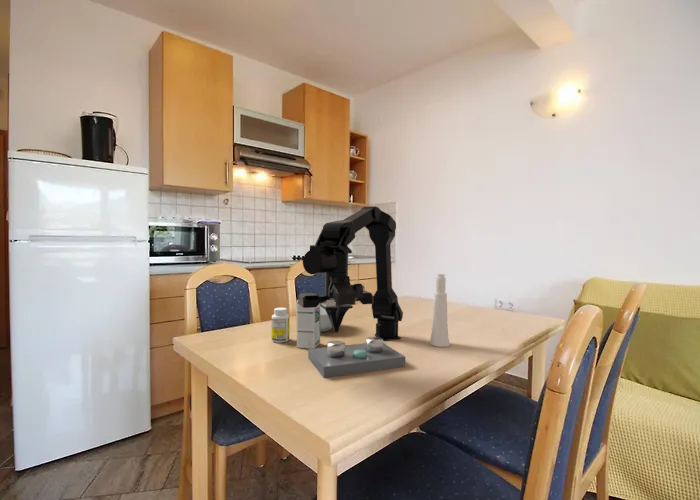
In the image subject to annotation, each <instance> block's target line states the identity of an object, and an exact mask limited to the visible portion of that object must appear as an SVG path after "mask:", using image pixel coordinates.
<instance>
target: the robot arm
mask: <svg viewBox="0 0 700 500" xmlns="http://www.w3.org/2000/svg"><path fill="white" fill-rule="evenodd" d="M363 228H365V229H366V230H367V231H368V234H369V236H368V237H369V239H370V240H371V242H372V243H373V245H374V250H375V252H374V253H375V255H374V256H375V275H376V291H375V292H374V294H372V292H370V291H367V290H364V285H363V284H362V283H354V284H351V279H350V276H349V272H348V271H349V254H352V253H353V251H352V249H351V248H350V247H349V246H348V245H350V244H351V243H352V242H353V241H354V240H355V239H356V233H358V231H361V230H362V229H363ZM396 229H397V223H396V221H395V219H394V218H393V217H392V216H391V214H390V213H386V212H385V211H383V210H381V209H380V207H379V206H375V205H374V206H373V205H372V206H370V205H369V206H363V207H361V209H359V210H358V211H356V212H355V213H352V214H350V216H348V217H346V218H344V219H342V220H341V219H339V220H335V221H330V222H325V224H323V226H322V229H321V231H320V234H319V235H318V238H317V239H316V241H315V243H314V244H312V245H311V244H310V245H309V250H308V251H306V252H305V253H304V256H303V258H302V266H303V269H304V270H305V272H306V273H308V274H309V275H320V274H324V275H323V276H324V278H323V279H324V280H325V283H324V284H325V287H324V288H325V289H324V290H323V295H319V294H317V293H315V292H304V293H303V292H301V293H299V295H298V297H297V298H298V299H297V300H298V304H299V305H300V306H302V307H303V308H312V307H317V306H318V305H319V303H320V306H321V307H322V308H324V309H325V311H326V313H327V315H328V317H329V319H330V322H331V325H332V328H331V329H332V330H333V332H334V333H339V330H340V328H341V325H342V323H343V320H344V317H345V315H346V313H347V312H348V311H349V310H350V309H353V308H354V306H353V305H356V302H360V303H361V304H362V305H371V312H372V316H373V320H374V319H376V321H377V322H376V323H375V334H374V337H379V338H382V339H383V341H389V340H400V339H401V336H399V322H402V320H403V317H404V316H403V314H404V312H403V310H402V308H401V306H400V304H399V301H398V295H397V293H396V292H395V291H394V289H393V279H392V278H393V275H392V256H391V253H392V252H391V251H392V250H391V244H392V242H393V241H394V238H395V237H396Z"/></svg>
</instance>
